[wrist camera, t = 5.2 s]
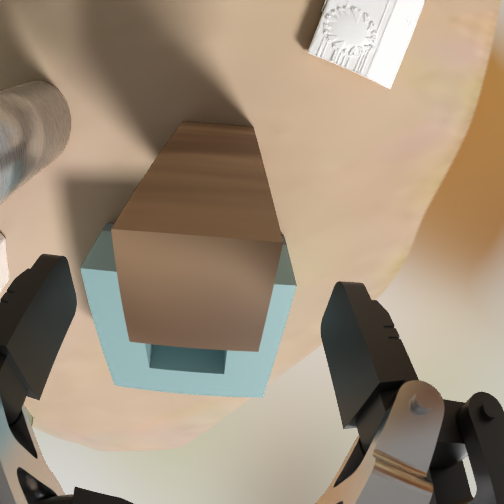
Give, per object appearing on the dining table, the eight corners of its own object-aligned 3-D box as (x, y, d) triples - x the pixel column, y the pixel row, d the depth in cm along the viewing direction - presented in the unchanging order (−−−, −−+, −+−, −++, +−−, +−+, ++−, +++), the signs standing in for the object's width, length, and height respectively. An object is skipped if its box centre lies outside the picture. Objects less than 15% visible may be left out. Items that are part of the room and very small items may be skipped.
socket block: (106, 222, 20) (80, 268, 16) (284, 236, 22) (296, 285, 17) (126, 339, 27) (115, 385, 23) (258, 350, 28) (262, 397, 24)
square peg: (182, 121, 17) (111, 229, 7) (253, 127, 17) (283, 242, 7) (179, 185, 19) (129, 341, 9) (244, 190, 20) (258, 351, 10)
